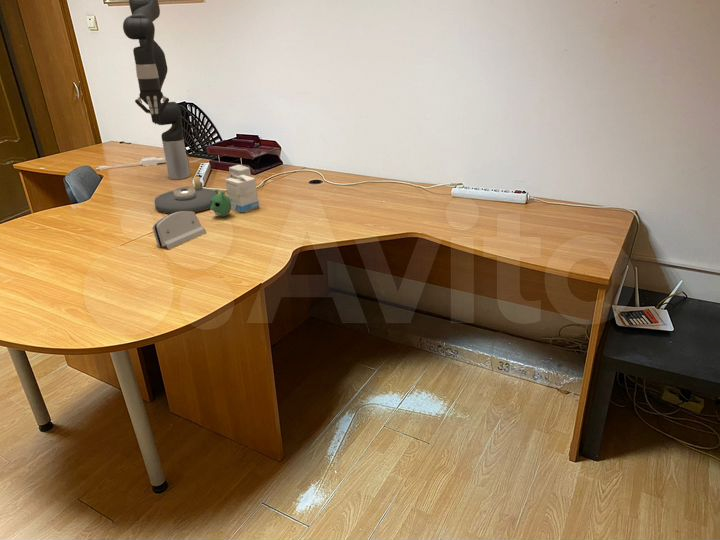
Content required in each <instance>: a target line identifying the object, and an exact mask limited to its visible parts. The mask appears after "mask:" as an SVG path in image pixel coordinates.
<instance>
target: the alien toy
mask: <svg viewBox="0 0 720 540" xmlns="http://www.w3.org/2000/svg"><path fill="white" fill-rule="evenodd" d="M214 192H216V193H217V195H215V196H214V197H213V198H211V202H210V203H211V207H210V208H209V209H210V210H211V211H213V213H214V214H215V216H217V217H221V218H223V217H227V216H228V215H229V214H230V213H231V210H232V209H231V202H230V199H229V198H228V195H227V194H226V192H225V191H224V190H222V191H220V193H219V189H214Z"/></svg>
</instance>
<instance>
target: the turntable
mask: <svg viewBox="0 0 720 540" xmlns="http://www.w3.org/2000/svg"><path fill="white" fill-rule="evenodd" d="M193 182H194V188H195V192H196V198H194V199H191V200H186V201H178V200H175V197H174V190H171V191H168V192H167V191H166V192H164V193H162V194H159V195H158V196H156V197H155V199H154V200H153V201H154V205H155V210H157V211H158V212H161V213H165V214H169V215H170V214H172V213H176V212H181V211H193V212H194V213H199V212H202V211H206V210H209V209H210V207H211V203H210V202H211V198H213V197H214V196H215V195H217V193H216V192H214V191H215V189H214V190H213V189H210V188H201V183H202V182H201V177H200V176H194V177H193Z"/></svg>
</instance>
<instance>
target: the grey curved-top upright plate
mask: <svg viewBox="0 0 720 540" xmlns="http://www.w3.org/2000/svg"><path fill="white" fill-rule="evenodd" d="M152 231H153V235H154V237H155V240H156V243H157V247H158V248H161V247H162V248H163V247H166V249H167V250H172V249H175V248H177V247H179V246H182V245H184V244H185V242H186V243H188V242H191V241H192V240H191V239H193V240H195V239H197V238H199V237H198V236H200V237H201V235H202V236H204V235H206V234H207V230H206V228H205V227H204V226H202V223H201V222H200V220H199V218H198V216H197V215H196V212H193V211H181V212H176V213H172V214H170V213H169V214H167V215H165V216H163V217H162V218H161V219H159V220H158V221H156V223H154V224H153V225H152ZM203 234H204V235H203ZM196 237H197V238H196ZM194 238H195V239H194ZM190 240H191V241H190ZM183 243H184V244H183Z"/></svg>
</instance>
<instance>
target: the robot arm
mask: <svg viewBox="0 0 720 540" xmlns="http://www.w3.org/2000/svg"><path fill="white" fill-rule="evenodd" d="M159 4H160V3H159V1H158V0H128V5H129V9H130V12H131V15H129V16H126V18H125V19H124V21H123V23H122V24H123V25H122V29H123V33H124V35H125V36H126V37H127V38H128V39H130V40H138V43H139V46H135V47H134V48H133V51H132V52H133V58H134V62H135V70H136V77H137V82H138V88H139V89H138V90H139V95H138V96H139V97H137V98H136V99H135V100H134V103H135V104H136V105H138V107H140V109H141V110H143V111H144V112H145V113H146V114H149V115H150V116H151V122H152V123H153V124H154V125H158V126H167V125H171V127H170V128H169V129H167V130H166V131H164V132H162V133H161V142H162V146H163V151H164V152H163V154H164V157H165V164H166V168H167V175H168V179H170V180H184V179H188V178H189V177H190V176H191V175H192V173H191V168H190V167H191V166H190V160H189V156H188V154H187V152H186V151H187V150H186V146H185V141H184V128H183V123H182V122H183V121H182V120H183V119H182V113H181V108H180V106H179V104H178V103H177V102H176V101H170V99H169V97H167V96H165V95H164V94H163V92H162V88H163V84H164V83H165V79H166V77H167V74H168V65H167V59H166V54H165V52H164V50H163V48H162V47H161V46H160V45H159V44H158V42H156V41H155V32H156V31H155V30H156V28H155V23H153V22H154V21H156V20H157V19H158V18H159V17H160V15H161V14H160V13H161V10H160V9H161V8H160V5H159ZM143 102H144V103H145V104H146V105H147V106H148V108H147V107H146V106H145V105H144V104H143Z"/></svg>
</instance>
